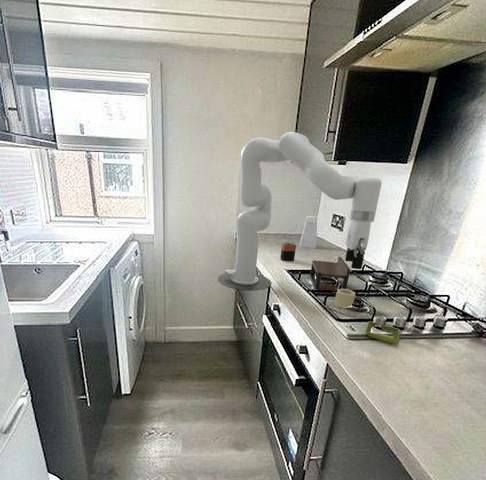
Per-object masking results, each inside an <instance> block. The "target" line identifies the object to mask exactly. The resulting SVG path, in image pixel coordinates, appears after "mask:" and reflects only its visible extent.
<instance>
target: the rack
mask: <svg viewBox="0 0 486 480" xmlns="http://www.w3.org/2000/svg"><path fill="white" fill-rule="evenodd" d="M315 273H316V274H315ZM350 273H351V267H350V266H349V265H348V264H347V263H346V261H345V259H343V258H342V257H341V256H338V257H337V262H335V261H325V260H316V259H315V260H312V261H311V268H310V273H309V278H310V281H311V284H312V288H313V287H314V288H313V290H314V289H317V290H331V291H336V290H337V287H336V286H334V285H332V284H326V283H323V282H320V281H321V276H325V277H334V278H337V279H338V281H339V282H340V280H339V279H342V283H341V282H340V284H341V285H342V287H341V289H348V288H347V287H348V283H349V278H350ZM315 275H317V276H316V279H315Z"/></svg>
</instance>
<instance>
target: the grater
mask: <svg viewBox="0 0 486 480" xmlns="http://www.w3.org/2000/svg"><path fill="white" fill-rule="evenodd" d="M308 218H314V216H310V215H307V216H306V217H305V219H308ZM316 218H317V221H316V222H311V221H305V222H304V226H303V230H302V234H301V238H300V241H299V247H300V248H306V247H308V248H307V249H315V248H316V249H317V238H318V237H317V236H318V221H319V218H318V217H316Z"/></svg>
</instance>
